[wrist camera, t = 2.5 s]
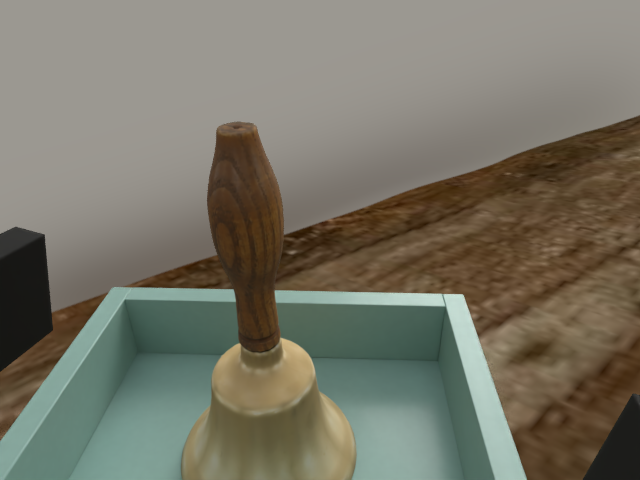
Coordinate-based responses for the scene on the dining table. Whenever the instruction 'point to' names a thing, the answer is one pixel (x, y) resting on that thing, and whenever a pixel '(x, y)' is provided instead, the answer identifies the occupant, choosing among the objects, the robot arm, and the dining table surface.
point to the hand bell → (260, 343)
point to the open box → (331, 373)
